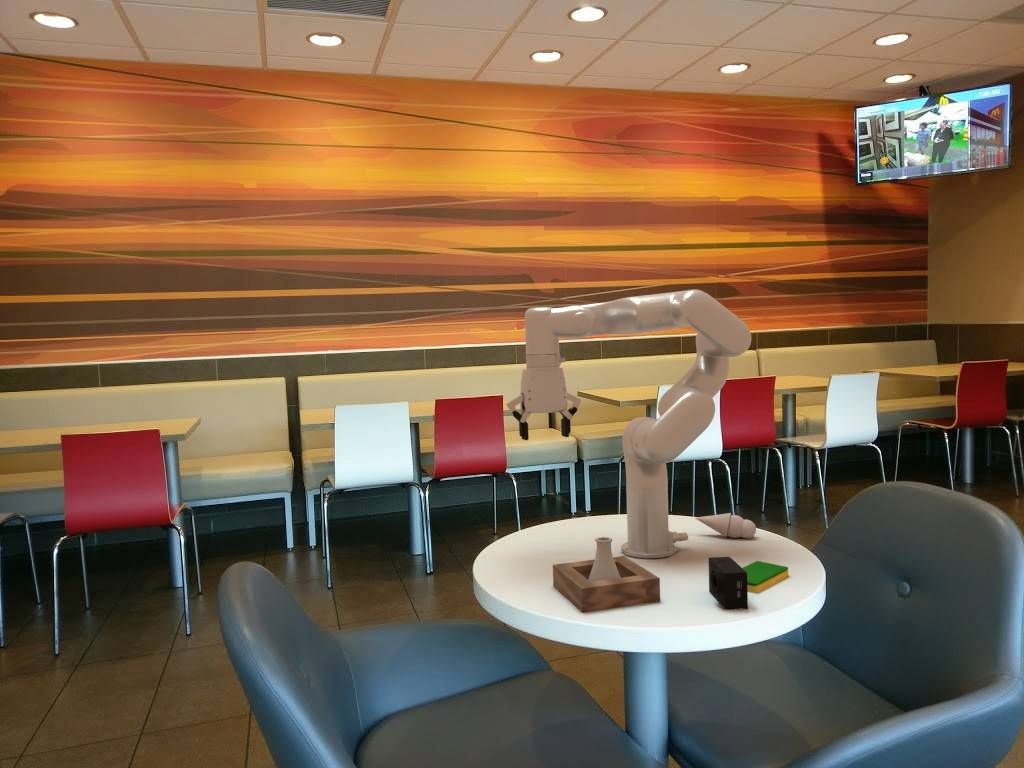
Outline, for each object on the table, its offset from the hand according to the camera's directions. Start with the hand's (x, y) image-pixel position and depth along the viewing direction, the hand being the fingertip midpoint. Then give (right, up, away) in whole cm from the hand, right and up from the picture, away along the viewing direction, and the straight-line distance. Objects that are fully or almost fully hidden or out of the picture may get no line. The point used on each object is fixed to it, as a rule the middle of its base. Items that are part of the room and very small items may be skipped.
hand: (545, 438), depth 173 cm
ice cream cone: (+45, -26, +17) cm, 55 cm away
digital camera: (+33, -29, -27) cm, 52 cm away
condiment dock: (+11, -29, -21) cm, 38 cm away
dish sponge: (+43, -29, -17) cm, 54 cm away
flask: (+11, -29, -21) cm, 37 cm away
